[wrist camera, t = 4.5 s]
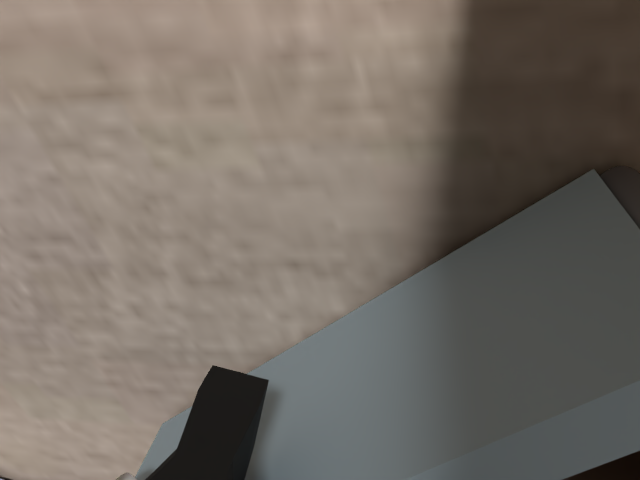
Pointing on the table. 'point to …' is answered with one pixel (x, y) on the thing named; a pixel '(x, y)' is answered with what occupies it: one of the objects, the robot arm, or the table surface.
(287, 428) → the cabinet door
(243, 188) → the table surface
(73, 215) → the table surface
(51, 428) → the table surface
